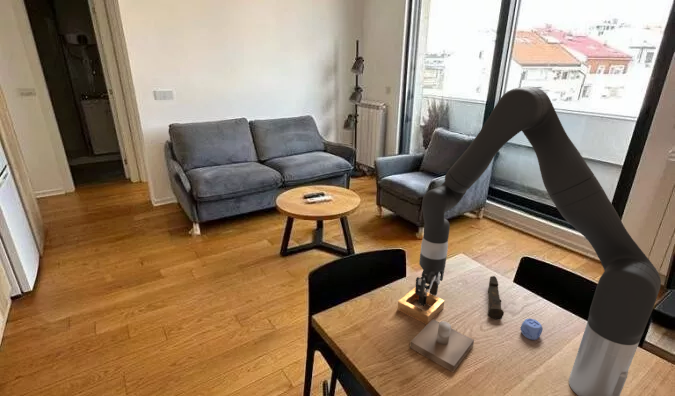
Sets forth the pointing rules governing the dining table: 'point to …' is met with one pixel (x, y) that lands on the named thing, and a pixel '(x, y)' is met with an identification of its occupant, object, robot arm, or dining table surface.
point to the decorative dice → (531, 329)
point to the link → (416, 312)
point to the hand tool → (494, 300)
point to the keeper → (442, 344)
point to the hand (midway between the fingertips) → (427, 299)
